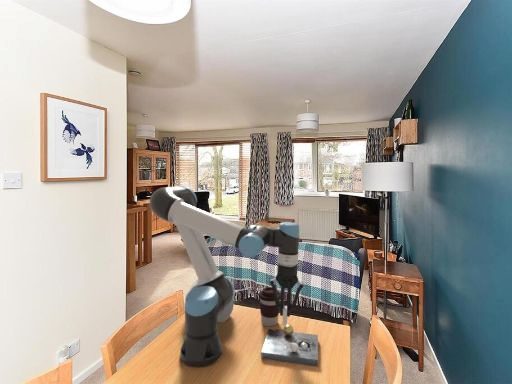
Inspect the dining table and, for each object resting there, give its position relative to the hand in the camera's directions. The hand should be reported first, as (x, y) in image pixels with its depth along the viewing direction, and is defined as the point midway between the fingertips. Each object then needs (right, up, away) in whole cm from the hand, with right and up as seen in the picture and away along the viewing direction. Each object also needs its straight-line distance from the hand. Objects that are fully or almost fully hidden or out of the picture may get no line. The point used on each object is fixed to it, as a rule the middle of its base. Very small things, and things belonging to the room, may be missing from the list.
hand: (284, 323), depth 113 cm
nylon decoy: (+3, -6, -6) cm, 9 cm away
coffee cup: (-5, -8, +19) cm, 21 cm away
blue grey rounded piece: (-32, -8, +23) cm, 40 cm away
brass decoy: (+2, -5, +5) cm, 7 cm away
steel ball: (+7, -8, -2) cm, 11 cm away
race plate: (+2, -9, -1) cm, 10 cm away
